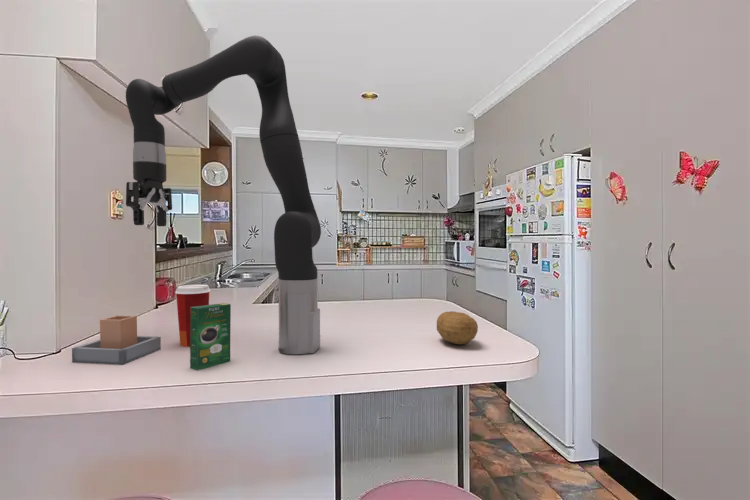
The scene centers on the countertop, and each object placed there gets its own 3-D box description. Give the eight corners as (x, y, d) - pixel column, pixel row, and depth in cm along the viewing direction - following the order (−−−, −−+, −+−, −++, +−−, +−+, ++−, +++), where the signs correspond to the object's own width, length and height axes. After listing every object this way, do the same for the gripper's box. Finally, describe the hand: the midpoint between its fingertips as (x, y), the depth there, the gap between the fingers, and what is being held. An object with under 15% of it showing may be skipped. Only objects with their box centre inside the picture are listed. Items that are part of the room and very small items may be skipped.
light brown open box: (137, 350, 95) (136, 316, 95) (121, 356, 90) (120, 320, 90) (117, 349, 96) (117, 315, 95) (100, 355, 91) (99, 319, 90)
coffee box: (224, 360, 91) (223, 301, 90) (232, 363, 89) (231, 302, 88) (189, 370, 84) (188, 306, 84) (197, 373, 82) (196, 308, 82)
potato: (459, 335, 114) (460, 306, 114) (486, 348, 100) (487, 316, 100) (427, 337, 111) (427, 308, 111) (450, 351, 98) (450, 318, 98)
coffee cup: (217, 341, 107) (216, 284, 106) (200, 350, 98) (200, 288, 98) (186, 341, 107) (185, 283, 107) (167, 349, 99) (166, 287, 99)
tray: (160, 351, 98) (160, 336, 98) (123, 367, 86) (122, 350, 86) (115, 349, 99) (115, 334, 99) (72, 364, 88) (71, 348, 87)
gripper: (143, 156, 98) (145, 225, 98) (180, 166, 112) (181, 226, 112) (115, 157, 99) (116, 225, 99) (155, 167, 113) (155, 226, 113)
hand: (150, 225), depth 106 cm, fingers open, 8 cm apart
